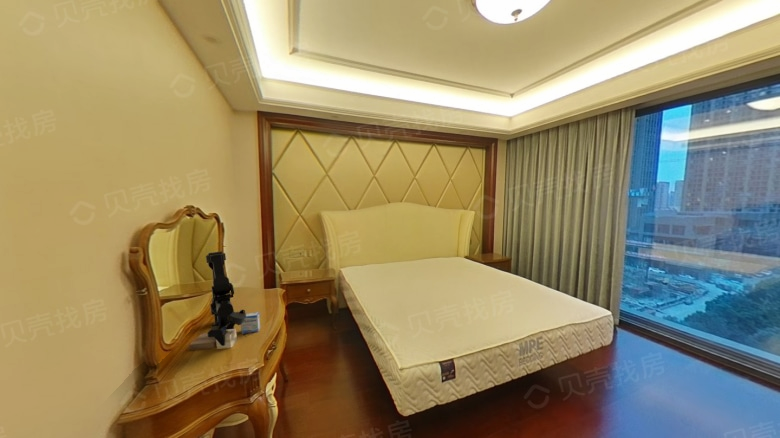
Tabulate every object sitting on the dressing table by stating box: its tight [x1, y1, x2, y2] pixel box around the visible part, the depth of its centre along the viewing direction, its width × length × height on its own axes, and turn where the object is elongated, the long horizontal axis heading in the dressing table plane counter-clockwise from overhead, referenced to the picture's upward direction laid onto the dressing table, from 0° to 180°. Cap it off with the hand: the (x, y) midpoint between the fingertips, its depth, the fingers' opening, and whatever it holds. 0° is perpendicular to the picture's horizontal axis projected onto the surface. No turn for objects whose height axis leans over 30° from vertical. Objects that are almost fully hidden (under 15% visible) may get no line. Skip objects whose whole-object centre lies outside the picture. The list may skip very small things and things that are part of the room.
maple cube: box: [216, 328, 238, 350], centre depth 127 cm, size 6×6×6 cm
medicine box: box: [240, 311, 261, 335], centre depth 140 cm, size 8×4×9 cm, turn 105°
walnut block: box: [189, 332, 217, 351], centre depth 130 cm, size 10×10×3 cm
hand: (226, 341), depth 128 cm, fingers open, 7 cm apart
